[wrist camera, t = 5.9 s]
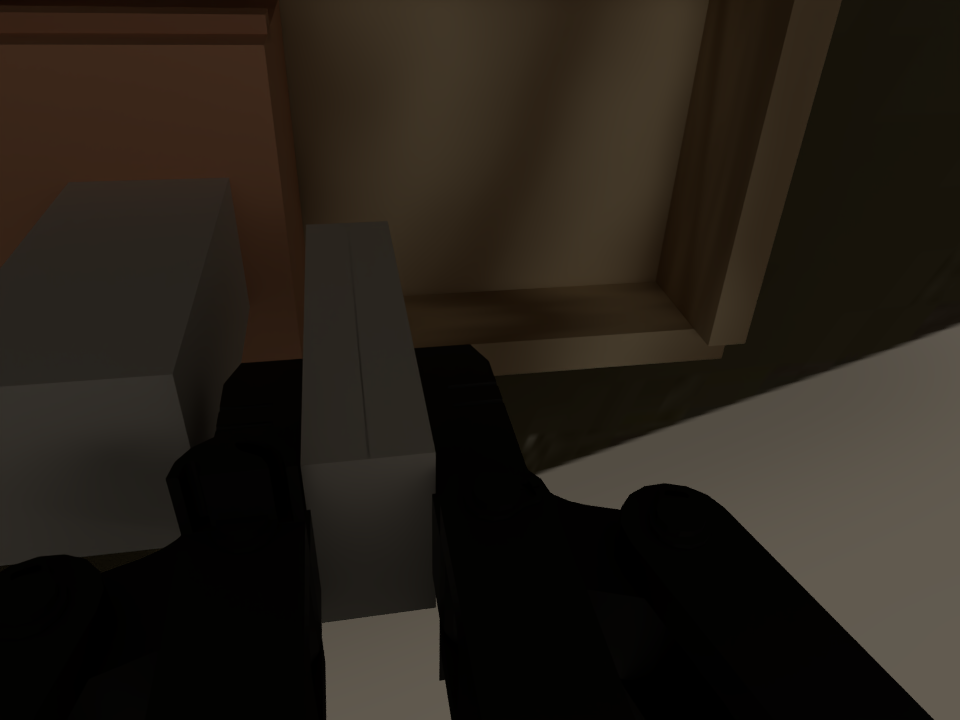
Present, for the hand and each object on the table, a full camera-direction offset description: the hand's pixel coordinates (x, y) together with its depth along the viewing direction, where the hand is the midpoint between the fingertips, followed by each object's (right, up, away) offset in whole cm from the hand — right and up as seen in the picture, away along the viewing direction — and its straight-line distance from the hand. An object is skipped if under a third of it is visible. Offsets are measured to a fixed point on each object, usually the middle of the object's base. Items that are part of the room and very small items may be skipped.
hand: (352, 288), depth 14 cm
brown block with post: (-7, +4, +6) cm, 10 cm away
